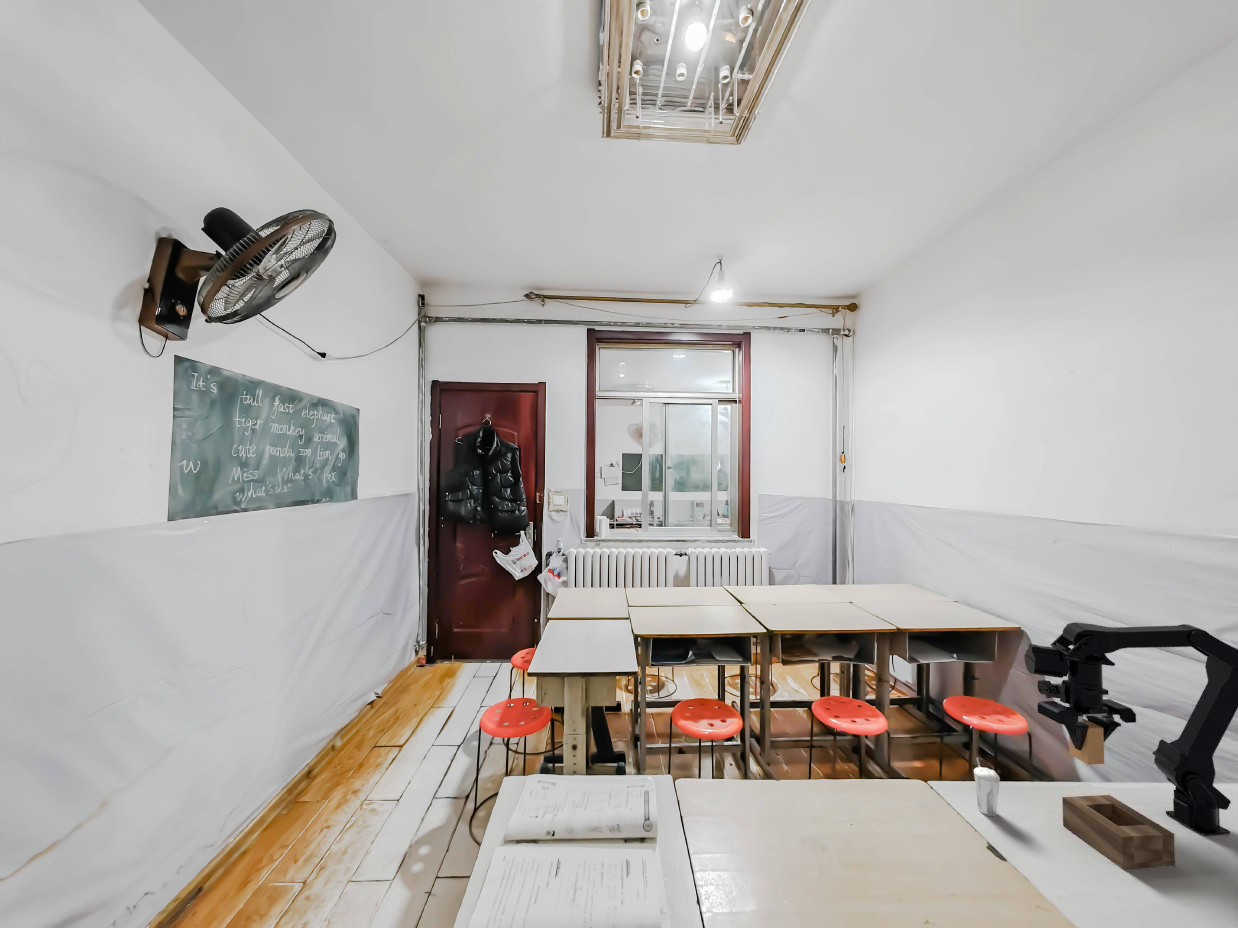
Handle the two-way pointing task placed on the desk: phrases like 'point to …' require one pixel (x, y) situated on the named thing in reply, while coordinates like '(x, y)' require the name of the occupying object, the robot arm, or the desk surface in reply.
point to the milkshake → (986, 789)
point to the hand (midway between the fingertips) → (1086, 748)
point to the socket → (1119, 832)
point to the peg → (1090, 745)
